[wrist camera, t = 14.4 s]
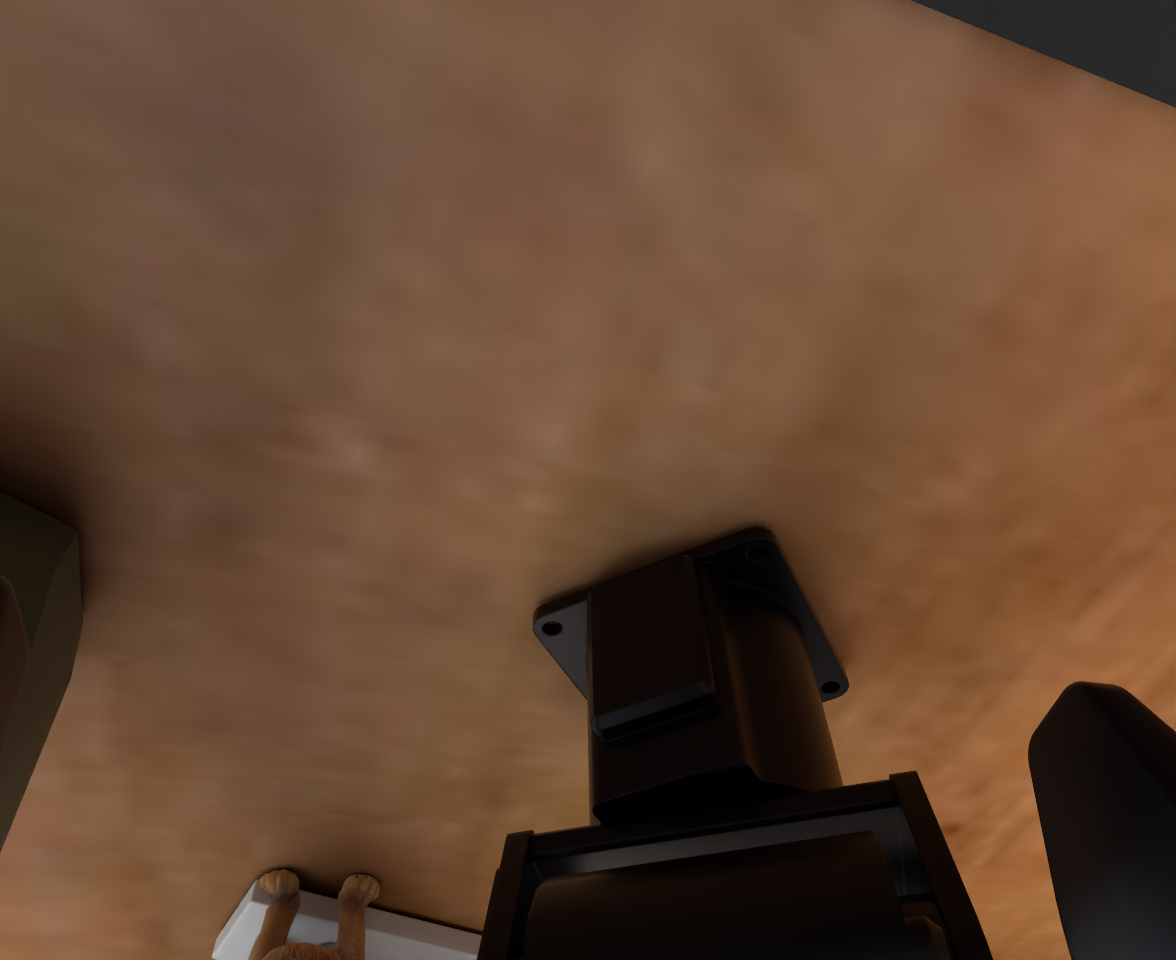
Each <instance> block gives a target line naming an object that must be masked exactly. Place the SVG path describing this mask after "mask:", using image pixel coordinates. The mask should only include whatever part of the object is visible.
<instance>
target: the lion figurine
mask: <svg viewBox="0 0 1176 960" xmlns="http://www.w3.org/2000/svg"><path fill="white" fill-rule="evenodd" d="M260 886H261V888H262V889H263V890H264V891H265V892H267V893H268V894H269V895H270V897H271V905H270V906H269V907H268V908H267V909H266V912H265V917H264V920H263V924H262V927H261V931H260V933H259V935H258V937H257V939H256V941H255V943H254V945H253V947H252V950H251V952H250V955H249V958H248V960H365V911H366V907H367V905H368V903H369V902H371V901H372V900H374V899H376V898H377V897H378V895H379V892H380V885H379V883H378V882H377V880H376V879H374V878H372V877H370V876H369V875H359V874H354V875H351V876H349V877H348V878H347V879H346V881H345V882H344V885H343V887H342V890H341V891H340V893H339V895H338V911H339V916H338V936H337V942H336V946H335V949H331V948H321V947H319V946H317V945H314V944H310V943H307V942H304V943H291V944H287V945H285V944H286V940H287V937H288V934H289V931H290V928H291V925H292V923H293V921H294V919H295V917H296V914H297V912H298V909H299V906H300V903H301V895H300V892H299V879H298V877H297V876H296V875H295V873H293V872H290V871H287V870H285V869H283V870H279V871H277V870H275V871H272V872H270V873H267V874H264V875H262V876H261V878H260Z"/></svg>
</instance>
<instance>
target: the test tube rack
mask: <svg viewBox="0 0 1176 960" xmlns="http://www.w3.org/2000/svg"><path fill="white" fill-rule="evenodd" d="M299 892H300V895H301V903H300V906H299V909H298V912H297V914H296V917H295V919H294V921H293V923H292V925H291V928H290V931H289V934H288V937H287V940H286V944H285V945H287V944H291V943H304V942H307V943H310V944H314V945H317V946H319V947H321V948H331V949H335V946H336V942H337V936H338V916H339V911H338V899H334V898H330V897H326V896H322V895H318V894H314V893H310V892H306V891H302V890H299ZM270 905H271V897H270V895H269V894H268V893H267V892H265V891H264V890H263V889H262V888H261V886H260V880H256V881H255V882H254V884H253V885H252V886H251V888H250V889H249V891H248V892H247V894H246V895H245V897H244V898H243V900H242V901H241V903H240V904H239V906H238V907H237V909H236V910H235V912H234V913H233V915H232V916H231V918H230V919H229V921H228V922H227V924H226V925H225V927H224V928H223V929H222V931H221V932H220V934H219V936H218V937H217V940H216V944H215V948H214V951H213V954H212V958H213V959H217V960H248V958H249V955H250V952H251V950H252V947H253V945H254V943H255V941H256V939H257V937H258V935H259V933H260V931H261V927H262V924H263V920H264V917H265V912H266V909H267V908H268V907H269V906H270ZM481 938H482V935H478V934H474V933H470V932H466V931H462V930H458V929H454V928H450V927H446V926H442V925H438V924H434V923H430V922H426V921H422V920H418V919H414V918H410V917H406V916H402V915H398V914H394V913H390V912H386V911H382V910H378V909H374V908H370V907H366V911H365V960H477V956H478V952H479V947H480V942H481Z"/></svg>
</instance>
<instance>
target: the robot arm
mask: <svg viewBox="0 0 1176 960" xmlns="http://www.w3.org/2000/svg"><path fill="white" fill-rule="evenodd" d="M758 545H760V546H763V547H762V548H760V549H757V550H751V549H750V548H752V547H753V546H758ZM552 621H553V622H558V623H556V624H550V623H547V622H552ZM533 631H534V634H535V635H536V637H537V638H538V639H539V640H540V642H541V643H542V644H543V646H544V647H545V648H546V649H547V651H548V652H549V653H550V654H551V656H552V657H553V658H554V659H555V661H556V662H557V663H558V664H559V666H560V667H561V668H562V669H563V671H564V672H565V673H566V674H567V676H568V677H569V678H570V679H571V681H572V682H573V683H574V685H575V686H576V687H577V688H578V690H579V691H580V692H581V693H582V695H583V696H584V697H585V698H586V700H587V708H588V756H589V804H590V826H583V827H577V828H570V829H564V830H558V831H551V832H545V833H538V834H534V832H533V830H529V831H523V832H517V833H510V834H507V837H506V841H505V846H504V850H503V855H502V859H501V864H500V868H499V869H497V871H496V874H495V878H494V883H493V888H492V892H491V897H490V901H489V906H488V910H487V915H486V920H485V924H484V929H483V933H482V938H481V942H480V947H479V952H478V956H477V960H993V958H992V955H991V952H990V949H989V946H988V943H987V941H986V938H985V935H984V933H983V930H982V928H981V925H980V922H979V920H978V917H977V915H976V913H975V910H974V908H973V905H972V903H971V901H970V898H969V896H968V893H967V891H966V889H965V886H964V884H963V881H962V879H961V877H960V874H959V872H958V870H957V867H956V865H955V862H954V860H953V858H952V855H951V853H950V850H949V848H948V846H947V843H946V841H945V838H944V836H943V834H942V831H941V829H940V826H939V824H938V822H937V819H936V817H935V815H934V812H933V810H932V807H931V805H930V803H929V800H928V798H927V795H926V793H925V791H924V788H923V786H922V783H921V781H920V779H919V776H918V774H917V772H916V771H910V772H903V773H897V774H890V775H889V779H887V780H881V781H875V782H868V783H862V784H855V785H849V786H843V782H842V779H841V775H840V771H839V767H838V763H837V759H836V755H835V751H834V747H833V744H832V740H831V736H830V732H829V728H828V724H827V720H826V716H825V712H824V708H823V705H822V702H825V701H829V700H832V699H835V698H837V697H840V696H842V695H843V694H844V693H845V692H847V690H848V688H849V682H848V679H847V675H846V672H845V669H844V667H843V665H842V663H841V661H840V659H839V658H838V656H837V654H836V652H835V650H834V648H833V646H832V644H831V642H830V640H829V638H828V636H827V634H826V633H825V631H824V629H823V627H822V625H821V623H820V621H819V619H818V617H817V615H816V613H815V611H814V609H813V608H812V606H811V604H810V602H809V600H808V598H807V596H806V594H805V592H804V590H803V588H802V586H801V584H800V582H799V581H798V579H797V577H796V575H795V573H794V571H793V569H792V567H791V565H790V563H789V561H788V559H787V557H786V556H785V554H784V552H783V550H782V548H781V546H780V544H779V542H778V540H777V538H776V536H775V535H774V533H773V532H772V531H771V530H769V529H767V528H765V527H751V528H747V529H744V530H742V531H739V532H736V533H734V534H731V535H728V536H726V537H723V538H720V539H717V540H715V541H712V542H709V543H707V544H704V545H701V546H699V547H696V548H693V549H691V550H688V551H685V552H683V553H680V554H677V555H675V556H672V557H669V558H667V559H664V560H661V561H659V562H656V563H653V564H651V565H648V566H645V567H643V568H640V569H637V570H635V571H632V572H629V573H627V574H624V575H621V576H619V577H616V578H613V579H611V580H608V581H605V582H603V583H600V584H597V585H595V586H592V587H589V588H587V589H584V590H581V591H579V592H576V593H573V594H571V595H568V596H565V597H563V598H560V599H557V600H555V601H552V602H549V603H547V604H544V605H542V606H540V607H539V608H537V609H536V611H535V612H534V616H533ZM28 663H29V643H28V639H27V635H26V631H25V628H24V624H23V621H22V617H21V614H20V610H19V607H18V603H17V599H16V596H15V592H14V589H13V587H12V584H11V583H10V582H9V581H8V579H6V578H5V577H4V576H0V745H1V742H2V739H3V736H4V734H5V731H6V728H7V725H8V722H9V720H10V717H11V714H12V711H13V709H14V706H15V703H16V700H17V697H18V695H19V692H20V689H21V686H22V684H23V681H24V678H25V675H26V672H27V668H28ZM1028 760H1029V767H1030V772H1031V777H1032V782H1033V787H1034V793H1035V798H1036V803H1037V808H1038V813H1039V818H1040V823H1041V828H1042V833H1043V838H1044V843H1045V848H1046V853H1047V858H1048V863H1049V868H1050V873H1051V878H1052V883H1053V888H1054V893H1055V898H1056V902H1057V906H1058V910H1059V915H1060V919H1061V923H1062V927H1063V931H1064V934H1065V938H1066V941H1067V945H1068V949H1069V952H1070V955H1071V959H1072V960H1176V732H1175V731H1174V730H1173V729H1172V728H1171V727H1169V726H1168V725H1167V724H1166V723H1165V722H1164V721H1162V720H1161V719H1160V718H1159V717H1158V716H1156V715H1155V714H1154V713H1153V712H1152V711H1151V710H1149V709H1148V708H1147V707H1146V706H1145V705H1144V704H1142V703H1141V702H1140V701H1139V700H1138V699H1137V698H1135V697H1134V696H1133V695H1132V694H1131V693H1129V692H1128V691H1127V690H1125V689H1124V688H1122V687H1119V686H1116V685H1112V684H1103V683H1093V682H1083V681H1080V682H1075V683H1073V684H1071V685H1069V686H1067V687H1066V688H1065V690H1064V691H1063V692H1062V693H1061V695H1060V696H1059V698H1058V699H1057V700H1056V702H1055V703H1054V705H1053V706H1052V708H1051V709H1050V710H1049V712H1048V713H1047V715H1046V716H1045V717H1044V719H1043V720H1042V722H1041V723H1040V724H1039V726H1038V727H1037V729H1036V730H1035V731H1034V733H1033V735H1032V737H1031V740H1030V743H1029V750H1028Z"/></svg>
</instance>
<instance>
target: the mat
mask: <svg viewBox="0 0 1176 960" xmlns="http://www.w3.org/2000/svg"><path fill="white" fill-rule="evenodd" d="M912 1H914V2H917V3H919V4H922V5H924V6H927V7H929V8H932V9H934V10H936V11H939V12H941V13H944V14H946V15H949V16H951V17H954V18H956V19H959V20H961V21H964V22H966V23H969V24H971V25H974V26H976V27H978V28H981V29H983V30H986V31H988V32H991V33H993V34H996V35H998V36H1001V37H1003V38H1006V39H1008V40H1011V41H1013V42H1016V43H1018V44H1020V45H1023V46H1025V47H1028V48H1030V49H1033V50H1035V51H1038V52H1040V53H1043V54H1045V55H1048V56H1050V57H1053V58H1055V59H1058V60H1060V61H1063V62H1065V63H1067V64H1070V65H1072V66H1075V67H1077V68H1080V69H1082V70H1085V71H1087V72H1090V73H1092V74H1095V75H1097V76H1100V77H1102V78H1105V79H1107V80H1109V81H1112V82H1114V83H1117V84H1119V85H1122V86H1124V87H1127V88H1129V89H1132V90H1134V91H1137V92H1139V93H1142V94H1144V95H1147V96H1149V97H1151V98H1154V99H1156V100H1159V101H1161V102H1164V103H1166V104H1169V105H1171V106H1174V107H1176V0H912Z"/></svg>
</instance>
